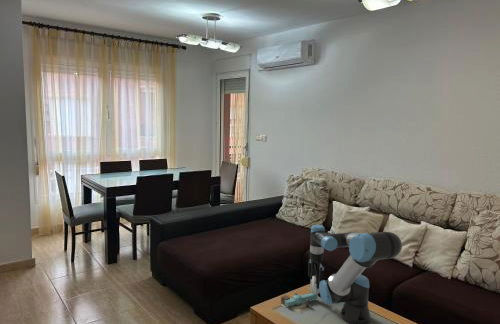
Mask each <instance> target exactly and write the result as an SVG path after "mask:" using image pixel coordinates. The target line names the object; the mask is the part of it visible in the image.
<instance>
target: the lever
mask: <svg viewBox="0 0 500 324" xmlns="http://www.w3.org/2000/svg"><path fill="white" fill-rule="evenodd" d="M315 282H316V274H315V275H314V276H312V291H311V292H309V293H304V294H301V295H300V294H297V295H294V294H293V297H291V298H292V299H288V300H285V305H286V306H291V305H295V304H297V305H299V304H301V303H303V302H304V303H306V299H309V300H310V301H314V300H317V299H318V297H319V296H318V294H315Z"/></svg>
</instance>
